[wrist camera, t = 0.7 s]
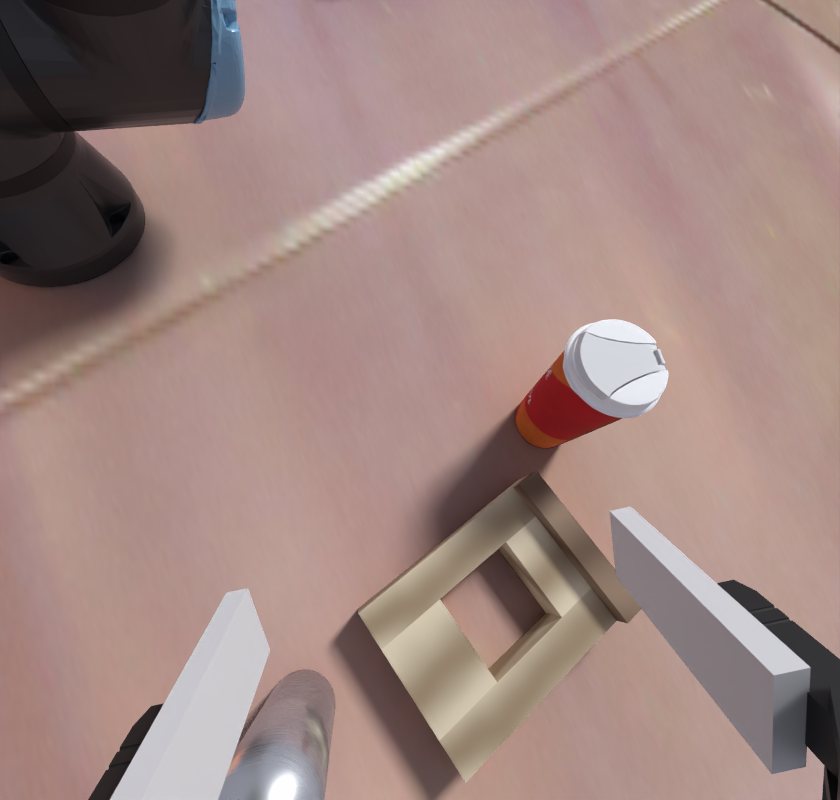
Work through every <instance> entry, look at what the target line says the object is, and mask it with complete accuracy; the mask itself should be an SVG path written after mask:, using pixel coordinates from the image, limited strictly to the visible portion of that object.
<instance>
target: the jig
mask: <svg viewBox="0 0 840 800" xmlns="http://www.w3.org/2000/svg"><path fill="white" fill-rule="evenodd" d="M497 549H499V550H500V551H501V553H502V554H503V556H504V557H505V558H506V560H507V561H508V562H509V564H510V565H511V566H512V568H513V569H514V570H515V572H516V573H517V575H518V576H519V577H520V579H521V580H522V581H523V583H524V584H525V585H526V587H527V588H528V589H529V591H530V592H531V593H532V595H533V596H534V598H535V599H536V600H537V602H538V603H539V604H540V606H541V607H542V608H543V610H544V611H545V612H546V613H545V614H544V615H543V616H542V617H541V618H540V619H539V620H538V621H537V622H536V623H535V624H534V625H533V626H532V627H531V628H530V629H529V630H528V631H527V632H526V633H525V634H524V635H523V636H522V637H521V638H520V639H519V640H518V641H517V642H516V643H515V644H514V645H513V646H512V647H511V648H510V649H509V650H508V651H507V652H506V653H505V654H504V655H503V656H502V657H501V658H500V659H499V660H498V661H497V662H496V663H494V664H493V665H492V666H491V667H490V668H489V669H488V668H487V667H486V665H485V664H484V662H483V661H482V659H481V658H480V657H479V655H478V654H477V652H476V651H475V649H474V648H473V646H472V645H471V643H470V642H469V640H468V639H467V638H466V636H465V635H464V633H463V632H462V630H461V629H460V627H459V626H458V624H457V623H456V621H455V620H454V619H453V617H452V616H451V614H450V613H449V611H448V610H447V608H446V607H445V605H444V604H443V603H442V601H441V600H440V599H441V598H442V597H443V596H444V595H445V594H447V593H448V592H449V591H450V590H451V589H452V588H453V587H455V586H456V585H457V584H458V583H459V582H460V581H462V580H463V579H464V578H465V577H466V576H467V575H469V574H470V573H471V572H472V571H473V570H474V569H475V568H477V567H478V566H479V565H480V564H481V563H482V562H484V561H485V560H486V559H487V558H488V557H489V556H490V555H492V554H493V553H494V552H495V551H496V550H497ZM640 609H641V607H640V606H639V605H638V604H637V602H636V601H635V600H634V599H633V597H632V596H631V595H630V594H629V592H628V591H627V590H626V588H625V587H624V586H623V585H622V583H621V582H620V581H619V580H618V578H617V577H616V573H615V569H614V567H613V566H612V565H611V564H610V562H609V561H608V560H607V559H606V557H605V556H604V555H603V554H602V552H601V551H600V550H599V549H598V547H597V546H596V545H595V544H594V542H593V541H592V540H591V539H590V537H589V536H588V535H587V534H586V532H585V531H584V530H583V529H582V527H581V526H580V525H579V524H578V522H577V521H576V520H575V518H574V517H573V516H572V515H571V513H570V512H569V511H568V510H567V508H566V507H565V506H564V505H563V503H562V502H561V501H560V500H559V498H558V497H557V496H556V495H555V493H554V492H553V491H552V490H551V488H550V487H549V486H548V485H547V483H546V482H545V481H544V480H543V478H542V477H541V476H540V475H539V473H538V472H537V471H535V472H533V473H531V474H529V475H527V476H525V477H523V478H521V479H519V480H517V481H516V482H515V483H513V484H512V485H511V486H510V487H508V488H507V489H506V490H505V491H503V492H502V493H501V494H500V495H498V496H497V497H496V498H495V499H493V500H492V501H491V502H490V503H489V504H487V505H486V506H485V507H484V508H482V509H481V510H480V511H479V512H477V513H476V514H475V515H474V516H472V517H471V518H470V519H469V520H467V521H466V522H465V523H464V524H462V525H461V526H460V527H459V528H458V529H456V530H455V531H454V532H453V533H451V534H450V535H449V536H448V537H446V538H445V539H444V540H443V541H441V542H440V543H439V544H438V545H436V546H435V547H434V548H433V549H431V550H430V551H429V552H428V553H427V554H425V555H424V556H423V557H422V558H420V559H419V560H418V561H417V562H415V563H414V564H413V565H412V566H410V567H409V568H408V569H407V570H405V571H404V572H403V573H402V574H401V575H399V576H398V577H397V578H396V579H394V580H393V581H392V582H391V583H389V584H388V585H387V586H386V587H384V588H383V589H382V590H381V591H379V592H378V593H377V594H376V595H374V596H373V597H372V598H371V599H370V600H368V601H367V602H366V603H365V604H363V605H362V606H361V607H360V608H358V614H359V615H360V617H361V618H362V620H363V622H364V623H365V625H366V626H367V628H368V629H369V631H370V633H371V634H372V636H373V637H374V639H375V640H376V642H377V644H378V645H379V647H380V648H381V650H382V652H383V653H384V655H385V656H386V658H387V659H388V661H389V663H390V664H391V666H392V667H393V669H394V670H395V672H396V674H397V675H398V677H399V678H400V680H401V681H402V683H403V685H404V686H405V688H406V689H407V691H408V693H409V694H410V696H411V697H412V699H413V700H414V702H415V704H416V705H417V707H418V708H419V710H420V711H421V713H422V715H423V716H424V718H425V719H426V721H427V723H428V724H429V726H430V727H431V729H432V730H433V732H434V734H435V735H436V737H437V738H438V740H439V741H440V743H441V745H442V746H443V748H444V749H445V751H446V752H447V754H448V756H449V757H450V759H451V760H452V762H453V764H454V765H455V767H456V768H457V770H458V771H459V773H460V775H461V776H462V778H463V779H464V781H465V782H467V781H468V780H469V779H470V778H471V777H472V776H473V775H474V774H475V772H476V771H477V770H478V769H479V768H480V767H481V766H482V765H483V764H484V763H485V762H486V761H487V760H488V758H489V757H490V756H491V755H492V754H493V753H494V752H495V751H496V750H497V749H498V748H499V747H500V746H501V744H502V743H503V742H504V741H505V740H506V739H507V738H508V737H509V736H510V735H511V734H512V733H513V732H514V730H515V729H516V728H517V727H518V726H519V725H520V724H521V723H522V722H523V721H524V720H525V719H526V718H527V716H528V715H529V714H530V713H531V712H532V711H533V710H534V709H535V708H536V707H537V706H538V705H539V704H540V702H541V701H542V700H543V699H544V698H545V697H546V696H547V695H548V694H549V693H550V692H551V691H552V690H553V688H554V687H555V686H556V685H557V684H558V683H559V682H560V681H561V680H562V679H563V678H564V677H565V676H566V674H567V673H568V672H569V671H570V670H571V669H572V668H573V667H574V666H575V665H576V664H577V663H578V662H579V660H580V659H581V658H582V657H583V656H584V655H585V654H586V653H587V652H588V651H589V650H590V649H591V648H592V646H593V645H594V644H595V643H596V642H597V641H598V640H599V639H600V638H601V637H602V636H603V635H604V634H605V632H606V631H607V630H608V629H609V628H610V627H611V626H612V625H613V624H614V623H615V622H616V621H621V622H625V623H628V622H629V621H630V620H631V619H632V618H633V617H634V616H635V615H636V614H637V613H638V612H639V610H640Z"/></svg>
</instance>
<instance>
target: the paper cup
mask: <svg viewBox="0 0 840 800" xmlns="http://www.w3.org/2000/svg"><path fill="white" fill-rule="evenodd" d="M656 344H657V342H656V341H655V340H654V339H653V338H652V337H651V336H650V335H649V334H648V333H647V332H645V331H644V330H643V329H641V328H640V327H638V326H636V325H634V324H632V323H629V322H626V321H622V320H615V319H612V320H602V321H599V322H596V323H591V324H588V325H585V326H583V327H581V328H580V329H578V330H577V331H576V332H575V333H573V335H572V336H571V337H570V338H569V340H568V342H567V344H566V347H565V350H564V352H563V353H562V354H561V355H560V356H559V357H558V359H557V360H556V361H555V362H554V363H553V365H552V366H551V367H550V368H549V369H548V370H547V372H546V373H545V374H544V375H543V376H542V378H541V379H540V380H539V381H538V382H537V383H536V385H535V386H534V387H533V388H532V389H531V391H530V392H529V393H528V394H527V395H526V397H525V398H524V399H523V401H522V402H521V403H520V405H519V406H518V409H517V411H516V417H515V420H516V425H517V428H518V431H519V432H520V434H521V435H522V437H523V438H524V439H525V440H526V441H527V442H529V443H530V444H532V445H534V446H537V447H540V448H550V447H554V446H557V445H560V444H563V443H565V442H568V441H570V440H573V439H575V438H577V437H580V436H582V435H584V434H587V433H589V432H592V431H594V430H596V429H599V428H601V427H603V426H606V425H608V424H610V423H613V422H615V421H617V420H620V419H622V418H633V417H637V416H640V415H642V414H645V413H647V412H648V411H649V410H651V409H652V408H653V407H654V406H655V405H656V403H657V402H658V400H659V398H660V396H661V394H662V393H663V391H664V390H665V387H666V384H667V381H668V370H666V369H665V367H664V364H666V363H665V361H664V359H663V356H662V354H661V351H660V350H659V349H657V347H656V346H655V345H656Z"/></svg>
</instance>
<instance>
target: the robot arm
mask: <svg viewBox="0 0 840 800" xmlns="http://www.w3.org/2000/svg"><path fill="white" fill-rule="evenodd" d="M244 95H245V72H244V59H243V50H242V42H241V35H240V29H239V26H238V23H237V13H236V5H235V0H0V276H2V277H4V278H6V279H8V280H11V281H14V282H18V283H21V284H26V285H33V286H61V285H68V284H73V283H78V282H82V281H85V280H88V279H91V278H94V277H96V276H98V275H101V274H103V273H105V272H106V271H108V270H110V269H112V268H113V267H115V266H116V265H118V264H119V263H120V262H122V261H123V260H124V259H125V258H126V257H127V256H128V255H129V254H130V253H131V252H132V251H133V249H134V248H135V247H136V245H137V244H138V242H139V240H140V238H141V236H142V233H143V230H144V225H145V213H144V208H143V205H142V203H141V201H140V199H139V197H138V195H137V194H136V192H135V190H134V189H133V187H132V185H131V184H130V182H129V181H128V179H127V178H126V177H125V176H124V175H123V173H122V172H121V171H120V170H119V169H117V168H116V167H115V166H114V165H113V164H112V163H111V162H110V161H108V160H107V159H106V158H105V157H104V156H103V155H102V154H101V153H99V152H98V151H97V150H96V149H95V148H94V147H93V146H92V145H90V144H89V143H88V142H87V141H86V140H85V139H84V138H83V137H81V136H80V135H79V134H78V133H77V132H76V131H86V130H100V129H115V128H129V127H144V126H158V125H173V124H188V123H194V124H199V123H202V122H203V121H205V120H210V119H216V118H222V117H228V116H231V115H234V114H235V113H237V112H238V111H239V109H240V108H241V106H242V104H243V100H244ZM610 519H611V530H612V541H613V552H614V562H615V573H616V577H617V578H618V580H619V581H620V582H621V583H622V585H623V586H624V587H625V588H626V590H627V591H628V592H629V594H630V595H631V596H632V597H633V599H634V600H635V601H636V602H637V604H638V605H639V606H640V607H641V609H642V610H643V611H644V613H645V614H646V615H647V616H648V618H649V619H650V620H651V621H652V623H653V624H654V625H655V626H656V628H657V629H658V630H659V632H660V633H661V634H662V635H663V637H664V638H665V639H666V640H667V642H668V643H669V644H670V646H671V647H672V648H673V649H674V651H675V652H676V653H677V654H678V656H679V657H680V658H681V659H682V661H683V662H684V663H685V665H686V666H687V667H688V668H689V670H690V671H691V672H692V673H693V675H694V676H695V677H696V678H697V680H698V681H699V682H700V684H701V685H702V686H703V687H704V689H705V690H706V691H707V692H708V694H709V695H710V696H711V698H712V699H713V700H714V701H715V703H716V704H717V705H718V706H719V708H720V709H721V710H722V711H723V713H724V714H725V715H726V717H727V718H728V719H729V720H730V722H731V723H732V724H733V725H734V727H735V728H736V729H737V730H738V732H739V733H740V734H741V736H742V737H743V738H744V739H745V741H746V742H747V743H748V744H749V746H750V747H751V748H752V750H753V751H754V752H755V753H756V755H757V756H758V757H759V758H760V760H761V761H762V762H763V763H764V765H765V766H766V767H767V769H768V770H769V771H770V772H771V774H774V773H779V772H783V771H788V770H792V769H797V768H802V767H806V752H807V747H808V748H809V749H810V750H811V751H812V752H813V753H814V754H815V755H816V756H817V758H818V759H819V760H820V761H821V762H822V763H823V764H824V765H825V766H824V782H823V797H822V800H840V659H839V658H838V657H836V656H835V655H834V654H833V653H831V652H830V651H829V650H828V649H826V648H825V647H824V646H823V645H822V644H820V643H819V642H818V641H817V640H815V639H814V638H813V637H812V636H811V635H809V634H808V633H807V632H806V631H804V630H803V629H802V628H801V627H800V626H798V625H797V624H796V623H795V622H793V621H790V620H789V617H787V616H786V615H785V614H784V613H782V612H781V611H780V610H779V609H778V608H775V607H774V605H773V604H771V603H770V602H769V601H768V600H767V599H765V598H764V597H763V596H762V595H760V594H759V593H758V592H757V591H755V590H753V589H751V588H749V587H747V586H745V585H743V584H741V583H739V582H737V581H735V580H730V581H726V582H721V583H716V582H715V581H713V580H712V579H711V578H710V577H709V576H708V575H707V574H706V573H704V572H703V571H702V570H701V569H700V568H699V567H698V566H697V565H695V564H694V563H693V562H692V561H691V560H690V559H689V558H688V557H687V556H685V555H684V554H683V553H682V552H681V551H680V550H679V549H678V548H676V547H675V546H674V545H673V544H672V543H671V542H670V541H669V540H668V539H666V538H665V537H664V536H663V535H662V534H661V533H660V532H659V531H657V530H656V529H655V528H654V527H653V526H652V525H651V524H650V523H649V522H647V521H646V520H645V519H644V518H643V517H642V516H641V515H640V514H638V513H637V512H636V511H635V510H634V509H633V508H632V507H626V508H621V509H617V510H612V511H610ZM269 652H270V648H269V646H268V643H267V640H266V637H265V634H264V632H263V629H262V626H261V623H260V621H259V618H258V615H257V612H256V609H255V607H254V604H253V601H252V598H251V595H250V593H249V590H248V588H246V589H241V590H236V591H231V592H227V593H226V594H225V596H224V598H223V600H222V601H221V603H220V605H219V607H218V609H217V610H216V612H215V614H214V616H213V617H212V619H211V621H210V623H209V625H208V626H207V628H206V630H205V632H204V633H203V635H202V637H201V639H200V641H199V642H198V644H197V646H196V648H195V649H194V651H193V653H192V655H191V657H190V658H189V660H188V662H187V664H186V665H185V667H184V669H183V671H182V672H181V674H180V676H179V678H178V680H177V681H176V683H175V685H174V687H173V688H172V690H171V692H170V694H169V696H168V697H167V699H166V701H165V703H164V704H160V705H155V706H151V707H150V708H149V709H148V710H147V711H146V713H145V714H144V715H143V716H142V717H141V718H140V719H139V720H138V721H137V722H136V723H135V724H134V726H133V727H132V728H131V730H130V732H129V733H128V735H127V737H126V738H125V740H124V742H123V743H122V745H121V747H120V751H119V752H117V753H116V755H115V757H114V758H113V760H112V761H111V763H110V765H109V769H108V770H106V771H105V773H104V775H103V776H102V778H101V780H100V781H99V783H98V785H97V786H96V788H95V790H94V791H93V793H92V794H91V796H90V798H89V799H88V800H218V798H219V795H220V793H221V790H222V787H223V784H224V781H225V778H226V775H227V772H228V770H229V767H230V764H231V761H232V758H233V755H234V752H235V750H236V747H237V744H238V741H239V738H240V735H241V732H242V729H243V727H244V724H245V721H246V718H247V715H248V712H249V709H250V707H251V704H252V701H253V698H254V695H255V692H256V689H257V687H258V684H259V681H260V678H261V675H262V672H263V669H264V666H265V664H266V661H267V658H268V655H269Z"/></svg>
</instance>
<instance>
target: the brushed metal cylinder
mask: <svg viewBox="0 0 840 800" xmlns="http://www.w3.org/2000/svg"><path fill="white" fill-rule="evenodd" d="M334 714H335V696H334V692H333V689H332V687H331V685H330V683H329V682H328V680H327V679H326V678H325V677H324V676H322V675H321V674H319V673H318V672H315V671H312V670H298V671H295V672H292V673H290V674H288V675H287V676H285V677H284V678H283V679H282V680H280V681H279V683H278V684H277V685H276V686H275V688H274V689H273V691H272V692H271V694H270V695H269V697H268V699H267V700H266V702H265V703H264V705H263V707H262V708H261V710H260V711H259V713H258V715H257V716H256V718H255V719H254V721H253V723H252V724H251V726H250V727H249V729H248V731H247V732H246V734H245V736H244V737H243V739H242V740H241V742H240V744H239V745H238V747H237V748H236V750H235V752H234V755H233V758H232V761H231V764H230V767H229V770H228V772H227V775H226V778H225V781H224V784H223V787H222V790H221V793H220V795H219V798H218V800H324V797H325V789H326V781H327V772H328V764H329V756H330V747H331V739H332V731H333V722H334Z"/></svg>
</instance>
